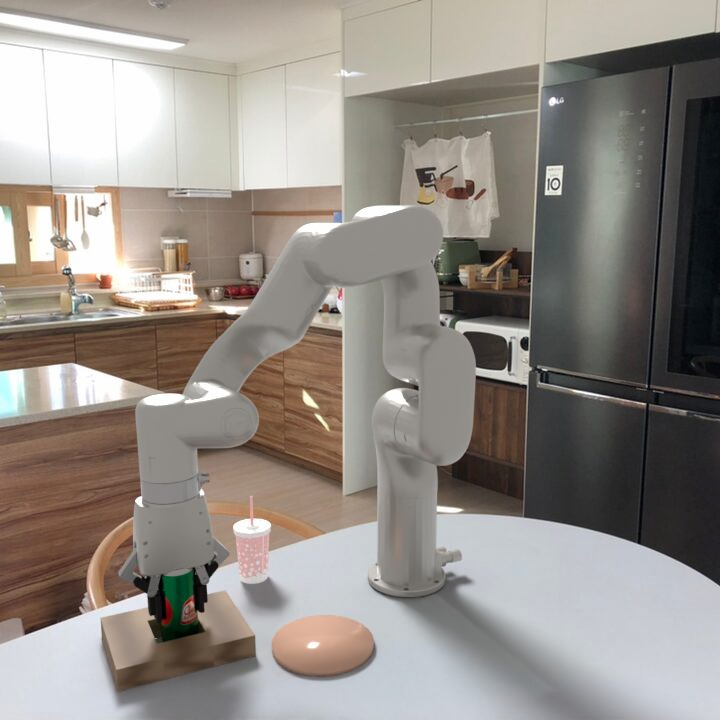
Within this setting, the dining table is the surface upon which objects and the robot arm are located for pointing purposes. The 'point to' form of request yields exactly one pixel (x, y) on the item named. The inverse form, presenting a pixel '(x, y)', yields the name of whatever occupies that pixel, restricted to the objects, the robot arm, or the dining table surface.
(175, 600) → the soda can
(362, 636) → the peach domed disc
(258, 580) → the beverage cup
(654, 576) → the dining table surface
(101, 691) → the dining table surface
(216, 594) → the pocket board
